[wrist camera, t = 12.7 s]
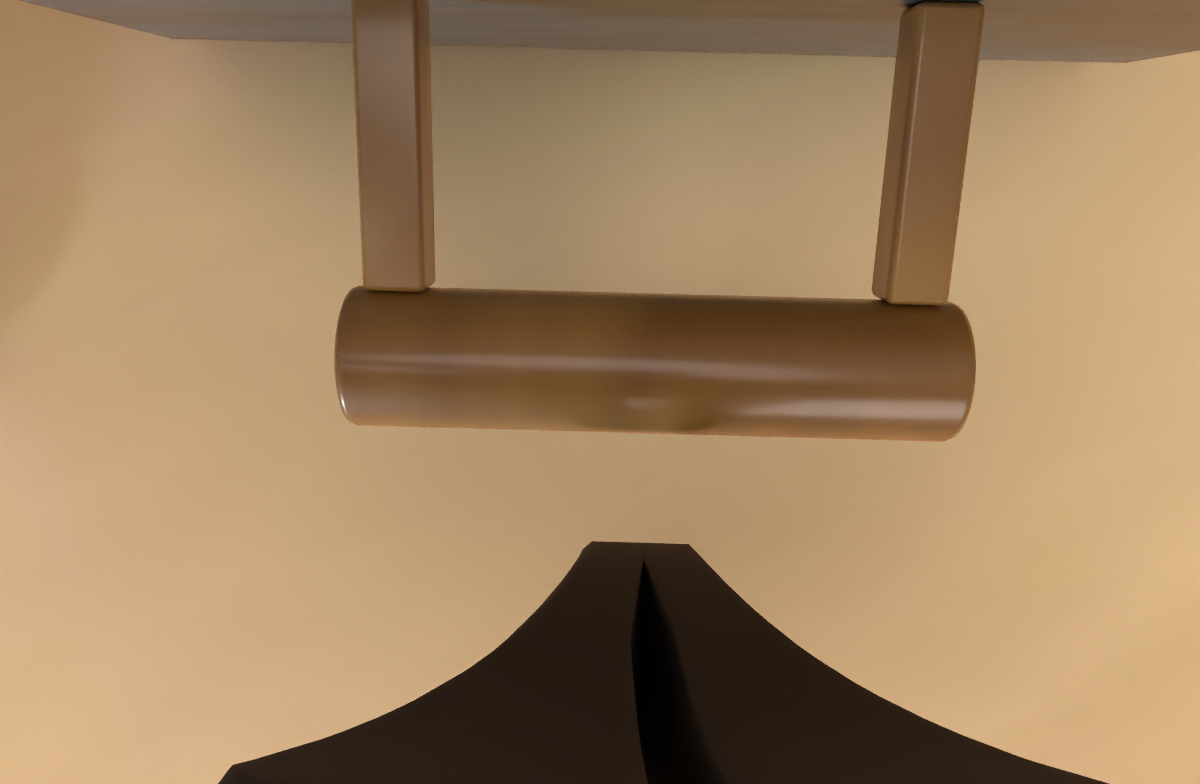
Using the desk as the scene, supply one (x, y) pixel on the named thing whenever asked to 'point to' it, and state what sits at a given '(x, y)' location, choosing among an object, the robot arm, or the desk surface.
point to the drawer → (668, 321)
